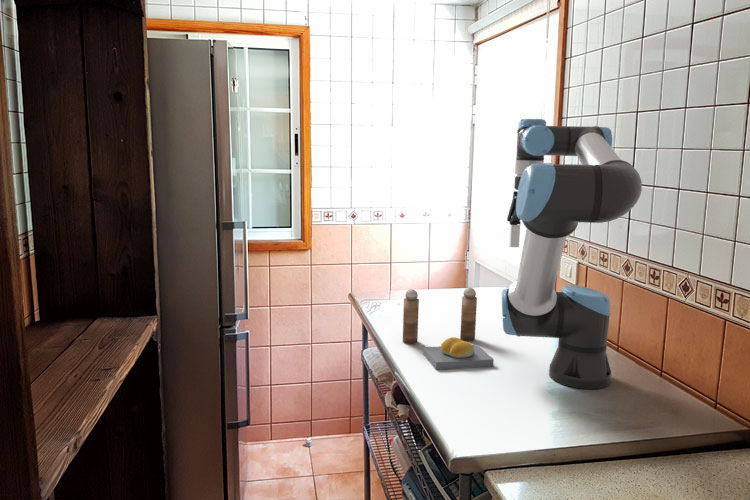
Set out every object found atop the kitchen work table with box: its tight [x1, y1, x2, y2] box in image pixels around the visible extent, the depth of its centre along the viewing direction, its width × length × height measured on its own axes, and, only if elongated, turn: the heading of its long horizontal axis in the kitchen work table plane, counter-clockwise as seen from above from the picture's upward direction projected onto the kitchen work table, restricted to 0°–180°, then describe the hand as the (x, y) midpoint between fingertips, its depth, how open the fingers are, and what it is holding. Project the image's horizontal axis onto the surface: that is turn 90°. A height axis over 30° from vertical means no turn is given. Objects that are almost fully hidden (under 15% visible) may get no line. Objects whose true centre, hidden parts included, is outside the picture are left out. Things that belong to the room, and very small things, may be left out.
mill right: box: [459, 287, 478, 342], centre depth 186 cm, size 4×4×16 cm
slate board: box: [422, 344, 494, 371], centre depth 170 cm, size 12×16×2 cm
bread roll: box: [440, 336, 474, 358], centre depth 169 cm, size 8×9×4 cm
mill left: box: [402, 288, 420, 345], centre depth 183 cm, size 4×4×16 cm
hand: (524, 251), depth 175 cm, fingers open, 13 cm apart
